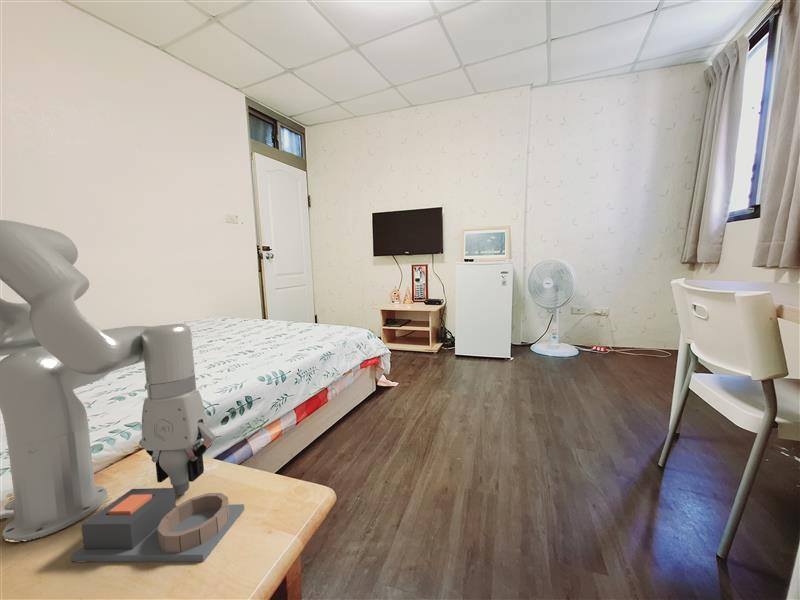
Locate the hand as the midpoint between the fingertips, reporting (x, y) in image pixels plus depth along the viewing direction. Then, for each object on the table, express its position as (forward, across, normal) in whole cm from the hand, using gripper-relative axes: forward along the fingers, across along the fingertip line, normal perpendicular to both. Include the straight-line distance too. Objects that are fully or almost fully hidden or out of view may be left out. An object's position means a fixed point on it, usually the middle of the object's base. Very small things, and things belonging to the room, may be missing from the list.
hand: (181, 476), depth 58 cm
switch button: (+2, 0, -10) cm, 10 cm away
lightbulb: (+4, 0, 0) cm, 4 cm away
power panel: (+4, +5, -10) cm, 11 cm away
